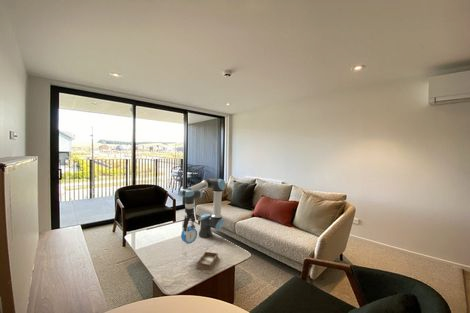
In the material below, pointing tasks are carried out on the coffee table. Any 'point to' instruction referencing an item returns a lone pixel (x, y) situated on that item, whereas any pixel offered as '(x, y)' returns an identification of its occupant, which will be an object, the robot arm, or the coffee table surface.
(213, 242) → the coffee table surface
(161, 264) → the coffee table surface
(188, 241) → the alarm clock
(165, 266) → the coffee table surface
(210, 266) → the open rectangular wooden box
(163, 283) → the coffee table surface
